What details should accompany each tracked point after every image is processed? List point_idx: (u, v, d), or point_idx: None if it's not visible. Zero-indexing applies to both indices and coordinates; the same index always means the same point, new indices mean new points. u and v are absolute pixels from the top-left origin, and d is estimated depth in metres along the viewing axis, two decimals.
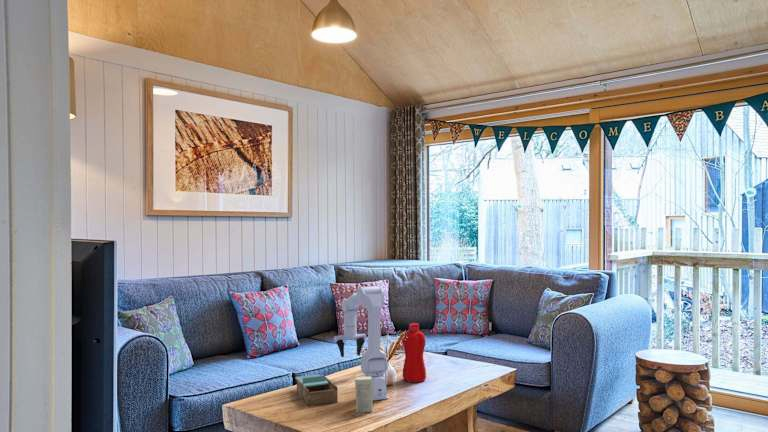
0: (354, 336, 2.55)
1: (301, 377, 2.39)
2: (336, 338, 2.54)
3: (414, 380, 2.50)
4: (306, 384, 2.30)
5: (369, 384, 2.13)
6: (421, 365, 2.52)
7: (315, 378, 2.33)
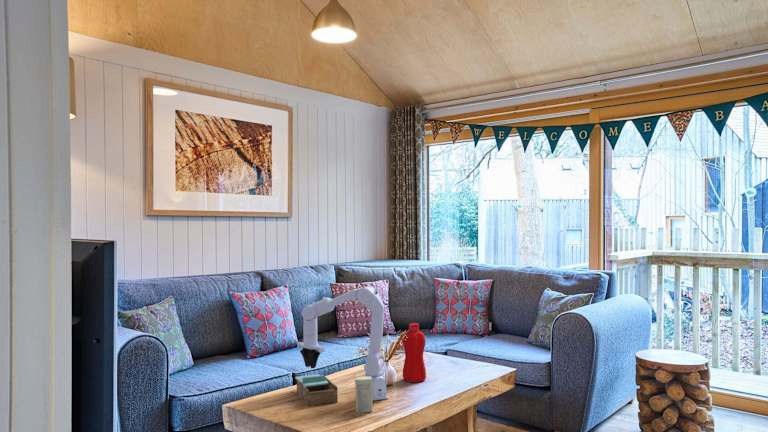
0: (306, 346, 2.35)
1: (301, 377, 2.39)
2: (298, 344, 2.41)
3: (414, 380, 2.50)
4: (306, 384, 2.30)
5: (369, 384, 2.13)
6: (421, 365, 2.52)
7: (315, 378, 2.33)
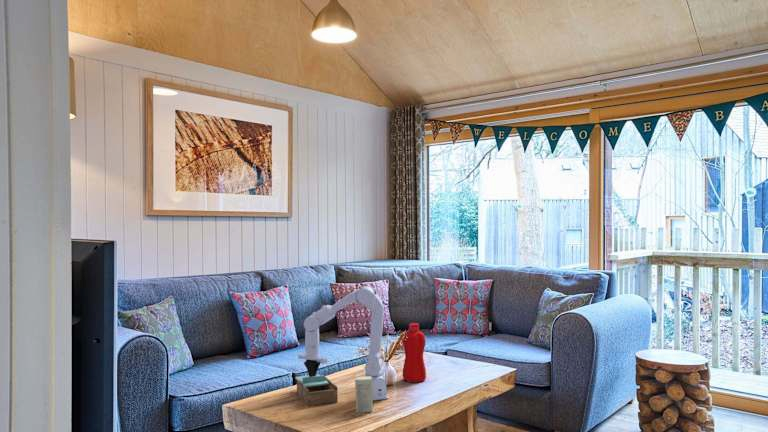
0: (309, 357, 2.32)
1: (301, 377, 2.39)
2: (298, 355, 2.38)
3: (414, 380, 2.50)
4: (306, 384, 2.30)
5: (369, 384, 2.13)
6: (421, 365, 2.52)
7: (315, 378, 2.33)
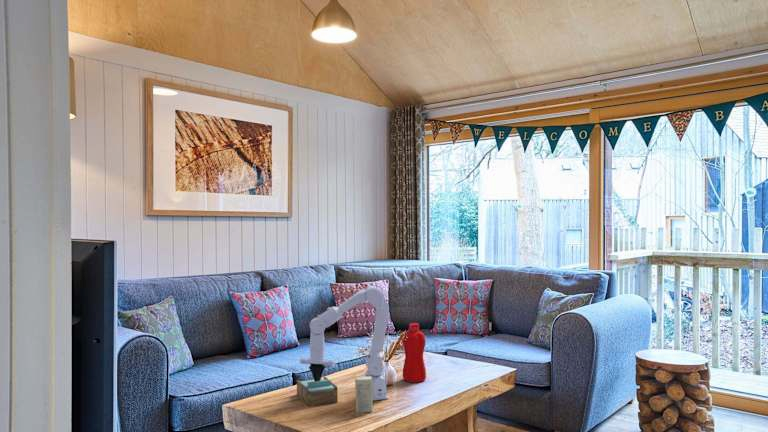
0: (316, 361, 2.26)
1: (306, 382, 2.33)
2: (301, 360, 2.30)
3: (414, 380, 2.50)
4: (311, 389, 2.23)
5: (369, 384, 2.13)
6: (421, 365, 2.52)
7: (320, 383, 2.26)
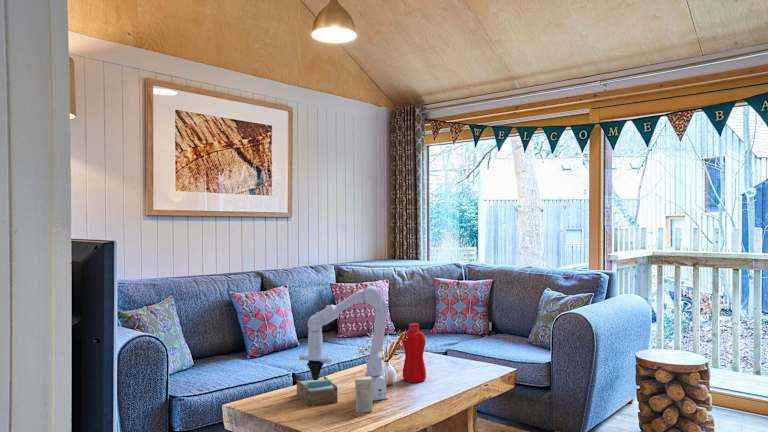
0: (313, 358, 2.28)
1: (306, 382, 2.33)
2: (300, 356, 2.33)
3: (414, 380, 2.50)
4: (311, 389, 2.23)
5: (369, 384, 2.13)
6: (421, 365, 2.52)
7: (320, 383, 2.26)
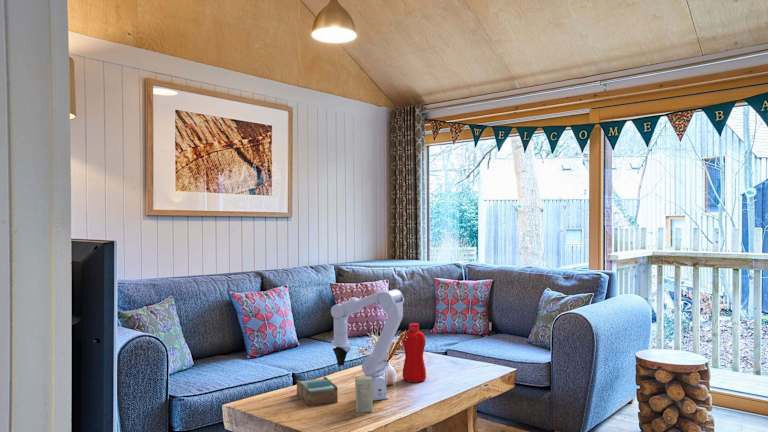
0: (335, 344, 2.38)
1: (306, 382, 2.33)
2: None
3: (414, 380, 2.50)
4: (311, 389, 2.23)
5: (369, 384, 2.13)
6: (421, 365, 2.52)
7: (320, 383, 2.26)
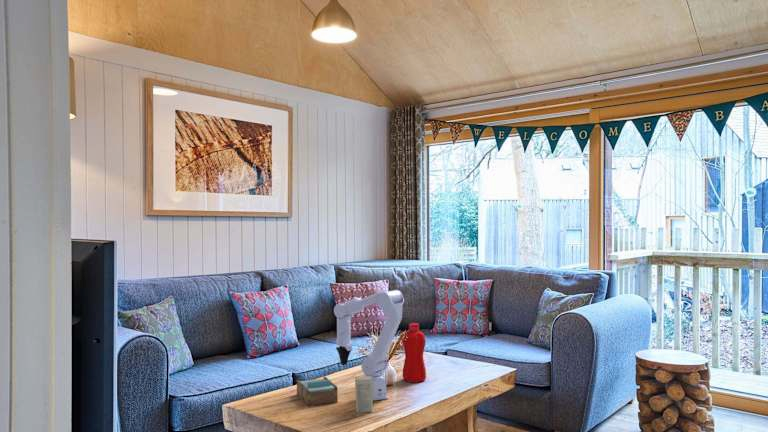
0: (338, 343, 2.40)
1: (306, 382, 2.33)
2: (336, 341, 2.47)
3: (414, 380, 2.50)
4: (311, 389, 2.23)
5: (369, 384, 2.13)
6: (421, 365, 2.52)
7: (320, 383, 2.26)
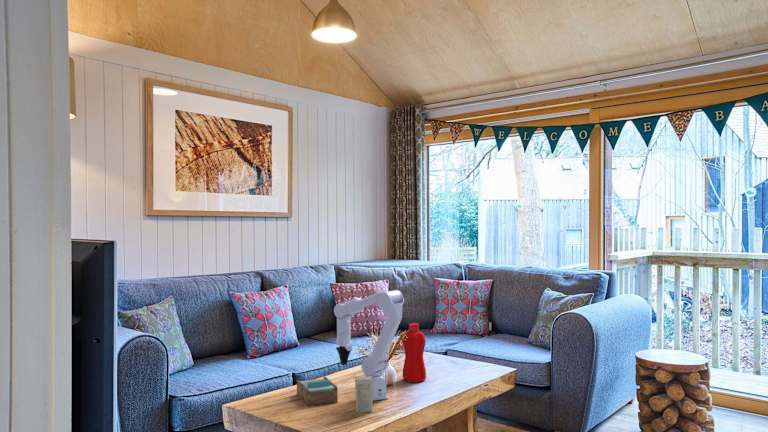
0: (338, 343, 2.40)
1: (306, 382, 2.33)
2: (336, 341, 2.47)
3: (414, 380, 2.50)
4: (311, 389, 2.23)
5: (369, 384, 2.13)
6: (421, 365, 2.52)
7: (320, 383, 2.26)
